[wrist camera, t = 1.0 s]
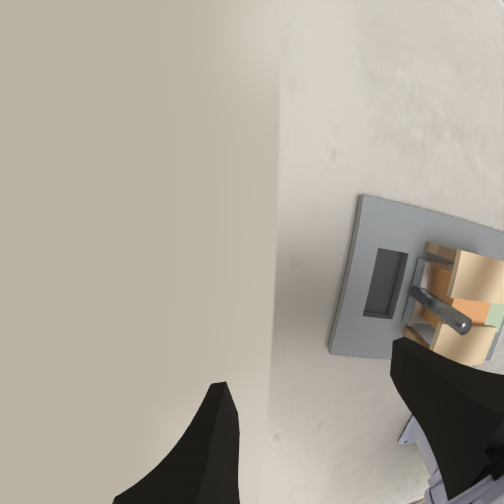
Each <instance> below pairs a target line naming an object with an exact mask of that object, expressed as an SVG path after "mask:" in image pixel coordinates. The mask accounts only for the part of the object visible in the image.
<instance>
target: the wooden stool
mask: <svg viewBox="0 0 504 504" xmlns="http://www.w3.org/2000/svg"><path fill="white" fill-rule="evenodd" d="M424 251H427V252H430V253H432V254H435V255H438V256H441V257H443V258H446V259H449V260H452V261H454V267H453V271H452V276H451V280H450V284H449V288H448V291H447V296H448V297H450V298H456V299H464V300H471V301H479V302H487V303H495V304H503V305H504V261H503V260H499V259H495V258H491V257H488V256H484V255H481V254H477V253H473V252H467V251H463V250H459V249H457V250H455V249H452V248H448V247H445V246H441V245H438V244H434V243H430V242H426V243H425V248H424ZM496 329H497V327H495V326H494V325H481V324H472V327H471V329H470V331H469V332H468V333H467V334H466V335H460V334H459V333H457V332H456V331H455V330H454V329H452V328H451V327H450V326H449V325H447V324H446V323H445V322H443V321H439V322H438V325H437V328H436V331H435V334H434V337H433V340H432V343H431V346H430V345H429V344H428V343H427V342H426V341H425V340H424V339H423V338H422V336H421V335H420V334H419V333H418V332H417V331H416V330H415V329H414V328H413V327H409V326H405V327H404V330H403V333H402V334H403V336H405V337H407V338H409V339H411V340H413V341H415V342H417V343H419V344H420V345H422V346H424V347H426V348H428V349H430V350H432V351H434V352H436V353H438V354H440V355H442V356H444V357H446V358H448V359H451V360H453V361H455V362H458V363H460V364H463V365H481V364H483V363H484V361H485V358H486V356H487V353H488V351H489V348H490V346H491V343H492V341H493V338H494V335H495V332H496Z"/></svg>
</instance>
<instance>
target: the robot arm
mask: <svg viewBox="0 0 504 504" xmlns="http://www.w3.org/2000/svg"><path fill="white" fill-rule="evenodd" d="M390 376H391V378H392V380H393V382H394V385H395V387H396V389H397V391H398V393H399V394H400V396H401V397H402V399H403V400H404V402H405V404H406V405H407V407H408V408H409V410H410V411H411V413H412V414H413V416H412V418H411V420H410V421H409V423H408V425H407V427H406V429H405V430H404V432H403V434H402V436H401V437H400V439H399V441H398V442H399V444H412V443H415V444H416V446H417V448H418V450H419V452H420V454H421V456H422V458H423V460H424V463H425V465H426V467H427V469H428V471H429V474H430V476H431V478H430V479H428V483H429V485H430V488H428V489H427V490H426V491H425V495H424V498H423V503H424V504H504V375H500V374H495V373H490V372H485V371H481V370H478V369H475V368H472V367H468V366H466V365H463V364H460V363H458V362H455V361H453V360H451V359H448V358H446V357H444V356H442V355H440V354H438V353H436V352H434V351H432V350H430V349H428V348H426V347H424V346H422V345H420V344H419V343H417V342H415V341H413V340H411V339H409V338H407V337H405V336H404V337H402V338H399V339H396V340H393V343H392V358H391V370H390ZM239 435H240V432H239V420H238V412H237V410H236V407H235V404H234V402H233V399H232V396H231V394H230V391H229V388H228V386H227V383H226V382H220V383H213V384H211V385H210V387H209V389H208V391H207V393H206V396H205V398H204V400H203V402H202V404H201V406H200V407H199V409H198V411H197V413H196V415H195V416H194V418H193V420H192V422H191V423H190V425H189V426H188V428H187V429H186V431H185V433H184V434H183V436H182V437H181V438H180V440H179V441H178V443H177V444H176V445H175V446H174V448H173V449H172V450H171V451H170V452H169V454H168V455H167V456H166V457H165V458H164V459H163V460H162V461H161V462H160V463H159V464H158V465H157V466H156V467H155V468H154V469H153V470H152V471H151V472H150V473H149V474H147V475H146V476H145V477H144V478H143V479H141V480H140V481H139V482H138V483H136V484H135V485H134V486H132V487H131V488H129V489H128V490H126V491H124V492H123V493H121V494H120V495H118V496H116V497H115V498H114V501H113V503H112V504H240V500H239V489H238V462H239V461H238V460H239V437H240V436H239Z"/></svg>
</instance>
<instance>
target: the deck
mask: <svg viewBox="0 0 504 504" xmlns="http://www.w3.org/2000/svg"><path fill="white" fill-rule="evenodd" d="M426 242H430V243H434V244H438V245H441V246H445V247H448V248H452V249H455V250H457V249H459V250H463V251H467V252H473V253H477V254H481V255H484V256H488V257H491V258H495V259H499V260H503V261H504V233H503V232H500V231H497V230H494V229H491V228H488V227H485V226H482V225H478V224H475V223H472V222H469V221H465V220H462V219H459V218H455V217H452V216H448V215H444V214H441V213H437V212H433V211H430V210H426V209H422V208H418V207H414V206H410V205H406V204H402V203H398V202H394V201H389V200H385V199H381V198H376V197H372V196H367V195H359V199H358V206H357V212H356V218H355V225H354V230H353V236H352V242H351V247H350V252H349V257H348V262H347V267H346V272H345V277H344V282H343V286H342V291H341V295H340V299H339V304H338V308H337V312H336V316H335V320H334V324H333V328H332V332H331V336H330V339H329V343H328V350H329V353H330V354H332V355H341V356H352V357H363V358H377V359H391V358H392V343H393V340H396V339H399V338H402V337H404V336H403V334H402V333H403V330H404V327H405V326H408V325H407V324H406V323H405V322H404V321H403V317H404V313H405V310H406V306H407V303H408V299H409V295H410V290H411V288H412V283H413V279H414V275H415V271H416V266H417V262H418V258H421V259H426V260H431V261H436V262H441V263H447V264H452V265H454V261H452V260H449V259H446V258H443V257H441V256H438V255H435V254H432V253H430V252H427V251H424V248H425V243H426ZM503 324H504V305H503V304H495V303H491V305H490V308H489V312H488V315H487V318H486V321H485V324H484V325H494V326H495V327H497V329H496V332H495V335H494V338H493V341H492V343H491V346H490V348H489V351H488V353H487V356H486V358H485V361H486V360H490V359H491V356H492V354H493V351H494V349H495V346H496V344H497V341H498V338H499V336H500V333H501V330H502V327H503ZM409 327H413V328H414V329H415V330H416V331H417V332H418V333H419V334H420V335H421V336H422V338H423V339H424V340H425V341H426V342H427V343H428V344H429V345H430V346H431V343H432V340H433V337H434V334H435V331H436V329H435V328H434V327H433V326H432V325H430V324H423V323H416V324H415V326H409Z"/></svg>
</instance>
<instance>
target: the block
mask: <svg viewBox="0 0 504 504" xmlns="http://www.w3.org/2000/svg"><path fill="white" fill-rule="evenodd" d="M451 276H452V271H447V270H442V269H436V268H435V272H434V277H433V281H432V285H431V289H430V292H431V293H432V294H434V295H435V296H437V297H438V298H440V299H442V300H443V301H445V302H446V303H448V304H449V305H451V306H452V307H454V308H455V309H457V310H458V311H460V312H461V313H463V314H464V315H466V316H467V317H469V318H470V319H471V320H472V324H481V325H484V324H485V321H486V318H487V315H488V312H489V308H490V305H491V303H487V302H479V301H471V300H464V299H456V298H450V297H448V296H447V291H448V288H449V284H450V280H451ZM422 318H423V319H425V320H426V321H427V322H428V323H429V324H430V325H432V326H433V327H434V328H435V329H436V328H437V325H438V322H439V321H442V320H441V319H440V318H438V317H437V316H436V315H435V314H433V313H432V312H431V311H429V310H428V309H427V308H426V307H425V310H424V314H423V317H422ZM443 322H444V321H443Z"/></svg>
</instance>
